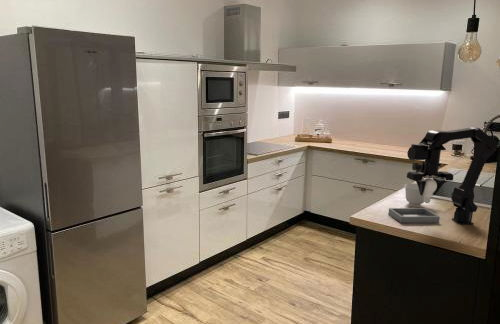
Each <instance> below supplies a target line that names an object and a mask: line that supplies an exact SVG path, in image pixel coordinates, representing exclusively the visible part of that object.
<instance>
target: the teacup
mask: <svg viewBox="0 0 500 324" xmlns="http://www.w3.org/2000/svg"><path fill="white" fill-rule="evenodd" d="M403 186H404V188H405V199H406V201H407V202H408V205H409V206H411V207H413V208H421V205H422V204H424V203H425V202H424V193H423V195H422V196H421V195H420V192H419V188H418V185H417V182H416V183H414V182H413V183H412V182H409V183H405V184H404V185H403ZM433 196H434V195H433V194H432V196H431V197H433Z"/></svg>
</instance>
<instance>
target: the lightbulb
mask: <svg viewBox="0 0 500 324" xmlns="http://www.w3.org/2000/svg"><path fill="white" fill-rule="evenodd" d="M424 181H426V184H425V188H424V192H423V193H424V203H425V204H429V203H430V202H431V199H432V197H433V196H432V194H433V192H434V191H435V190H436V189H437V183H436V181H435V180H433V178H424Z"/></svg>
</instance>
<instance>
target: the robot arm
mask: <svg viewBox="0 0 500 324" xmlns="http://www.w3.org/2000/svg"><path fill="white" fill-rule="evenodd" d="M465 139H470V141H472V143H474V146H473V153H474V155H473V158H472V159H471V162H470V164H469V167H468V169H467V171H466V173H465V177H464V178H463V181H462V183H461V184H460V185H459V187H456V186H455V187H454V188H453V191H452V193H451V194H450V195H451V199H450V200H451V201H452V203H453V206H454V207H456V208H455V211H454V215H453V218H451V220H452V221H454V222H455V223H457V224H459V225H474V222H473V221H472V220H473V215H474V213H476V212H477V210H478V208H479V207H478V206H477V204H475V202H474V200H475V193H474V192H475V191H474V190H475V187H476V184H477V182H478V181H479V178H480V175H481V173H482V171H483V169H484V166H485V164H486V162H487V160H488V159H489V158H490V157H491V156H492V155H494V153H495V151H496V150H497V148H498V146H499V143H498V141H497V140H496V139H495V138H493V137H492V136H490V135H489V134H487V132H484V131H483V130H482V129H481V128H479V127H474V126H471V127H467V128H460V129H459V128H458V129H452V130H428V131H427V132H426V133H425V136H424V137H423V138H422V139H421V140H420V141H419V143H418V144H416V143H412V144H411V146H410V147H409V148H408V150H407V158H408V160H410V161H422V163H421V164H420V163H419V162H413V163H412V166H411V169H412V170H411V171H408V172H407V173H406V178H407V179H409V180H411V181H414V182H416V184H417V185H418V188H419V192H420V195H421V196H422V195H423V192H424V188H425V184H426V181H424V180H425V179H427V178H430V179H433V180H435V181H436V183H437V189H436V190H435V191H434V192H433V196H436V195H437V193H438V192H439V190H440V189H441V187H442V186H443V185H444V184H445V183H447V182H449V181H454V174H453V173H451V172H448V171H441V170H440V171H439V169H440V168H439V167H441V166H442V163H440V160H441V153H442V152H441V151H446V150H447V148H446V147H445V146H444V145H446V144H447V143H449V142H451V141H456V140H465Z"/></svg>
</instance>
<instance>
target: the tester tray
mask: <svg viewBox="0 0 500 324" xmlns="http://www.w3.org/2000/svg"><path fill="white" fill-rule="evenodd" d="M387 215H389V217H391V218H392V219H394V220H395V221H396V222H398V223H400V224H403V225H404V224H439V223H440V216H439V215H438V214H436V213H435V212H433V211H431V210H429V209H427V208H425V207H393V208H392V207H390V208H388V214H387Z"/></svg>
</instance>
